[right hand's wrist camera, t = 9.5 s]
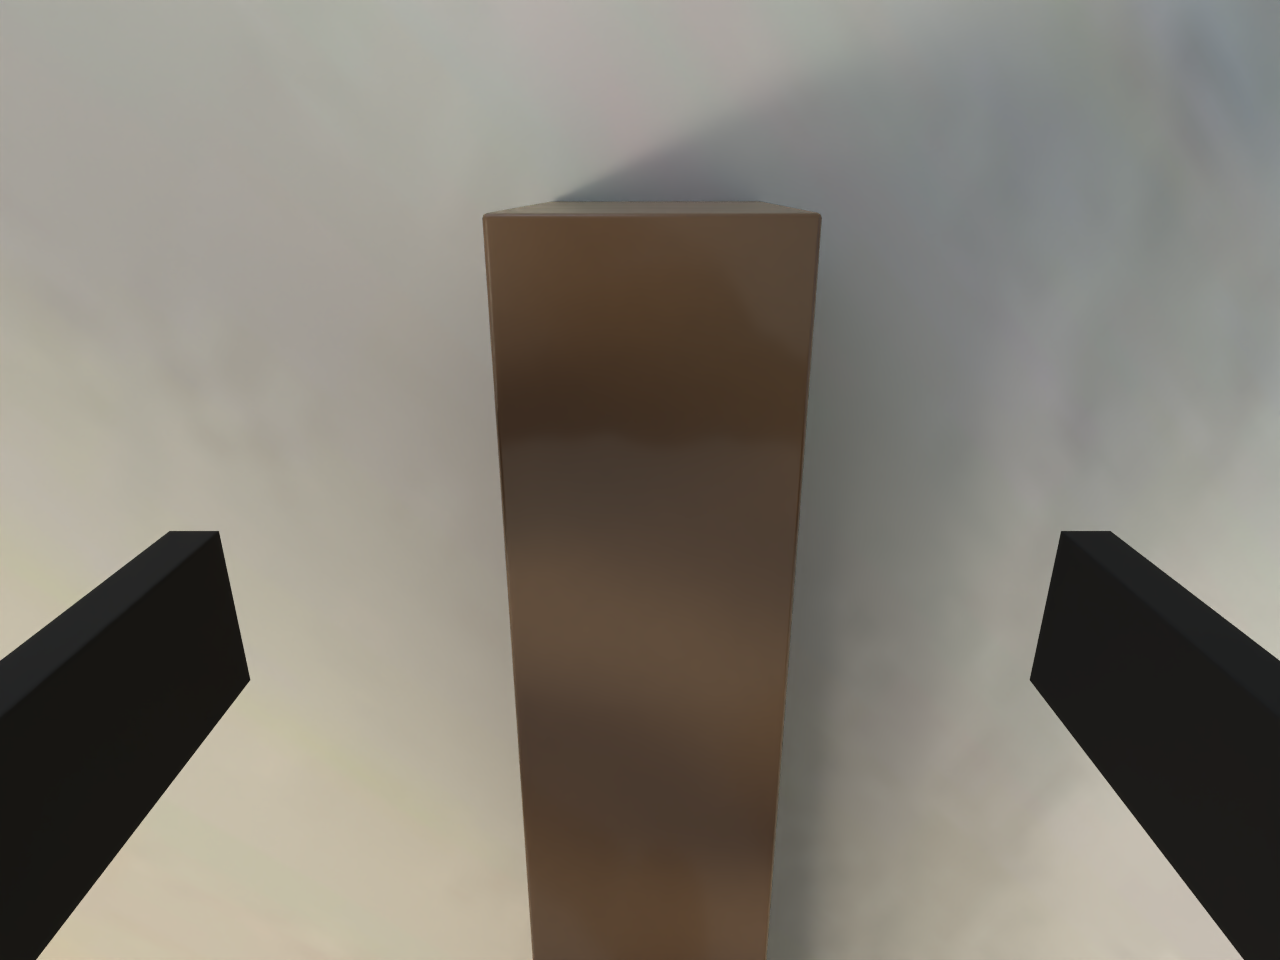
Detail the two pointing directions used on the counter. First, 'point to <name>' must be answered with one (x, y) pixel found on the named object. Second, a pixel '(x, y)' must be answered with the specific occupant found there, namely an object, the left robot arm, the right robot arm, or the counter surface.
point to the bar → (651, 558)
